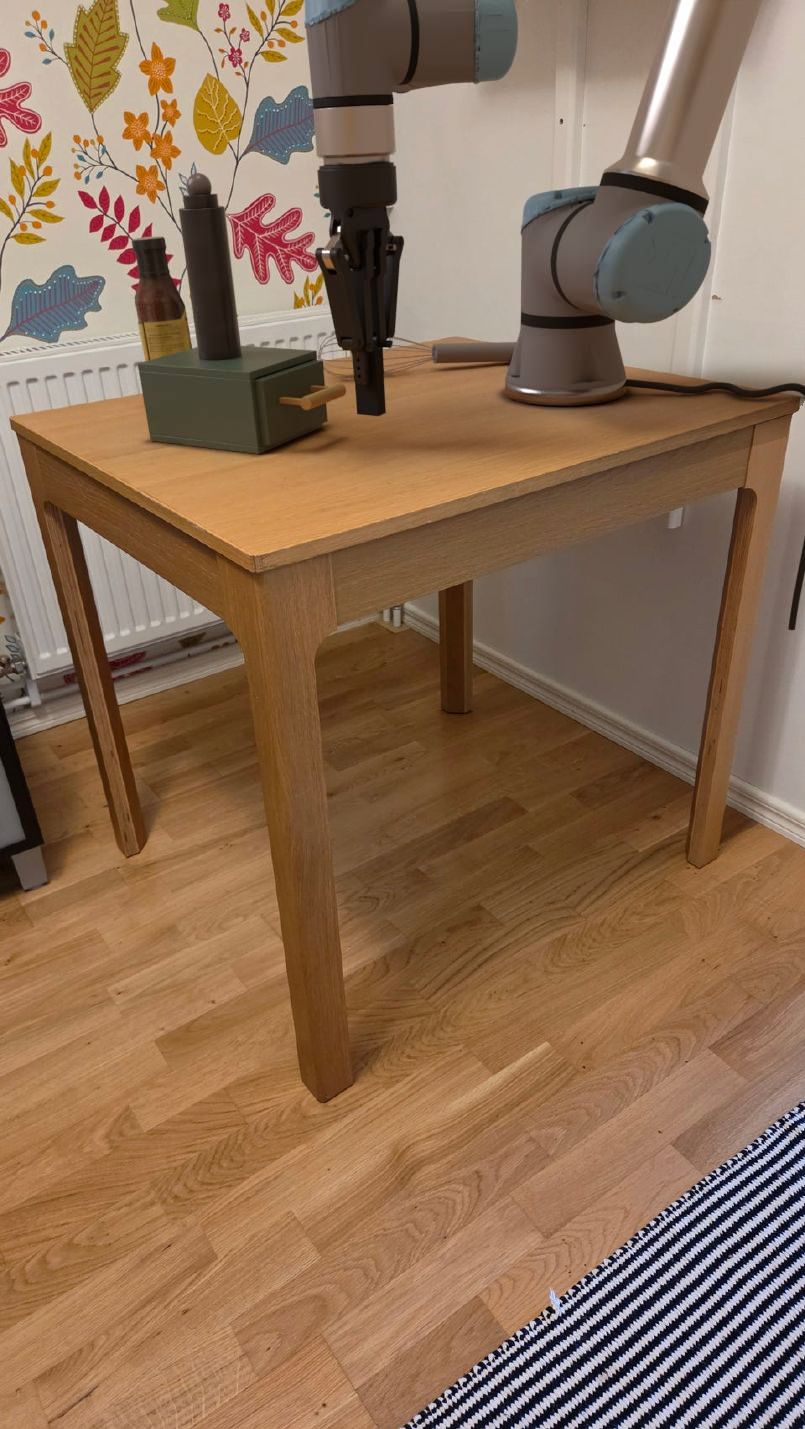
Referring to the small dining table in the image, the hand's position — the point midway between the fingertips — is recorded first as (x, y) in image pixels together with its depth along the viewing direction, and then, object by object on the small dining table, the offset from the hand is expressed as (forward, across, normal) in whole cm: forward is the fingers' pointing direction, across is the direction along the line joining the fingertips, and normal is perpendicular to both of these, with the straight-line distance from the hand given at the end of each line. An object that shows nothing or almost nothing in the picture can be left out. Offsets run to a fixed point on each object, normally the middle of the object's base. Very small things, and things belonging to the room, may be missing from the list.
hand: (371, 413), depth 106 cm
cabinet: (+4, 0, -18) cm, 19 cm away
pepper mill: (-5, 0, -20) cm, 20 cm away
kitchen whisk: (+4, -39, -15) cm, 42 cm away
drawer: (+3, 0, -15) cm, 15 cm away
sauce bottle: (+4, -9, -37) cm, 38 cm away
